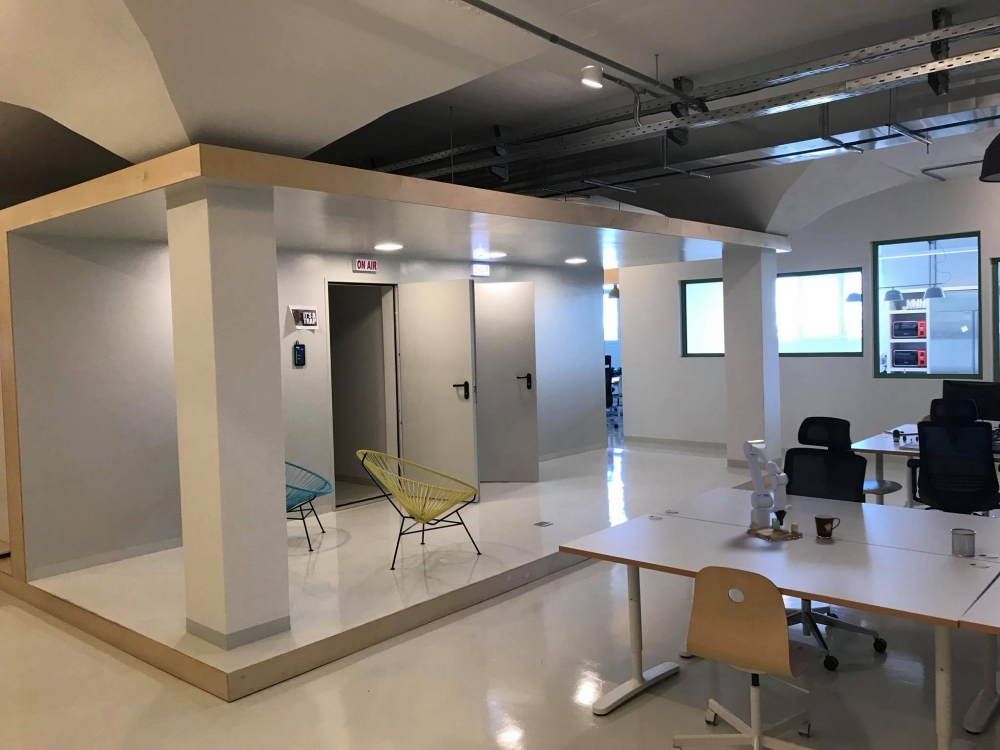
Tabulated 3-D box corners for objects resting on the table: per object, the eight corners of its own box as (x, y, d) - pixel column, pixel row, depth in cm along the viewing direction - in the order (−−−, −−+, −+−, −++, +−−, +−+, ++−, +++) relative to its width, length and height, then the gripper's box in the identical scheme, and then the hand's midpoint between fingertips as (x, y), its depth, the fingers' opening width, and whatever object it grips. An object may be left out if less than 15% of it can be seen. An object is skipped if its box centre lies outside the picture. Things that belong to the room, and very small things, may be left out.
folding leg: (790, 532, 369) (790, 524, 368) (785, 533, 368) (784, 525, 368) (777, 527, 379) (777, 519, 378) (772, 528, 378) (772, 520, 378)
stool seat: (747, 533, 379) (747, 521, 379) (775, 528, 386) (775, 516, 386) (773, 541, 363) (773, 529, 362) (802, 536, 370) (802, 524, 369)
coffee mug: (815, 538, 366) (815, 517, 365) (814, 533, 374) (813, 513, 374) (842, 539, 362) (841, 518, 362) (840, 535, 370) (839, 514, 370)
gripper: (775, 501, 370) (775, 529, 370) (796, 497, 376) (797, 524, 377) (764, 499, 376) (764, 526, 377) (785, 495, 382) (786, 522, 383)
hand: (780, 525), depth 377 cm, fingers closed, pressing on folding leg
